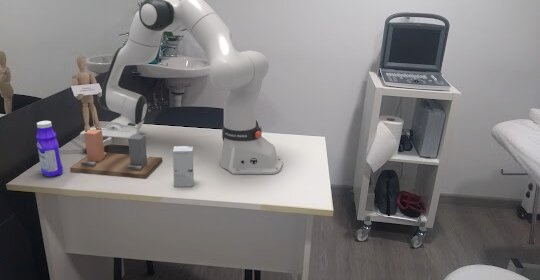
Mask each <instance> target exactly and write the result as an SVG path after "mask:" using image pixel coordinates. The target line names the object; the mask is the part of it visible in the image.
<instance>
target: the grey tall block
mask: <svg viewBox="0 0 540 280" xmlns="http://www.w3.org/2000/svg"><path fill="white" fill-rule="evenodd" d="M128 142H129V146H128V150H129V151H128V154H129V155H130V163H131V165H137V166H142V167H143V166H144V165H145V164H146V163H147V156H148V155H147V144H146V143H147V142H146V134H140V135H136V134H133V135H132V136H131V137H129V138H128Z"/></svg>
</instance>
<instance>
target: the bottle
mask: <svg viewBox="0 0 540 280" xmlns="http://www.w3.org/2000/svg"><path fill="white" fill-rule="evenodd" d="M36 129H37V134H36V136H35V138H36V139H37V142H36V147H37V151H38V152H37V153H38V157H39V163H40V170H41V172H42V174H43V175H45V176H47V177H49V178H50V177H55V176H59V175H61V174H62V173H63V171H64V169H63V168H64V167H63V164H62V158H61V151H60V145H59V141H58V140H57V138H56V137H57V133H56V132H55V131H54V129H53V124H52V121H50V120H42V121H38V122H36Z"/></svg>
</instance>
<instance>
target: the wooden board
mask: <svg viewBox="0 0 540 280" xmlns="http://www.w3.org/2000/svg"><path fill="white" fill-rule="evenodd" d="M104 153H105V157H104V158H103V159H102V160H101V161H99V162H96V161H88V158H87V155H86V156H85V157H82V158H81V159H80V160H79V161H77V162H76V163H74V164H73V165H72V166H70V168H69V170H70V172H71V173H79V174H80V173H81V174H92V175H102V176H113V177H125V178H135V179H148V178H149V177H150V175H151V174H152V173H153V172H155V170H156V169H157V167H159V166H160V164H162V162H163V157H160V156H159V157H158V156H150V155H147V163H146V164H145V165H144V166H143V167H142V166H137V165H131V163H130V154H125V153H115V152H113V153H111V152H105V151H104Z"/></svg>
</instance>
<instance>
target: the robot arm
mask: <svg viewBox="0 0 540 280" xmlns="http://www.w3.org/2000/svg"><path fill="white" fill-rule="evenodd" d="M183 31H188V33H189V34H190V36H191V37H192V39H194V41H195V42H196V43H197V44H198V46H199V47H200V48H201V50H202V51H203V52H204V54H205V56H206V59H207V61H208V63H209V69H208V77H209V80H210V83H211V84H212V85H213V87H215V89H218V90H220V91H229V93H228V94H227V97H226V99H225V100H224V103H223V125H222V128H221V138H222V141H223V142H222V150H221V154H220V155H221V156H220V159H219V161H218V162H219V163H218V164H219V166H220V167H221V168H223V169H225V170H228V171H229V173H231V175H232V174H233V175H276V174H278V173H280V171H282V169H283V165H284V164H283V158H282V157H280V156H279V155H277V150H276V147H275V145H274V144H272V143H271V142H270V141H269V140H267V139H266V138H264V137H263V136H262V134H263V133H262V126H261V125H260V127H259V125H257V108H258V107H257V105H258V99H259V96H260V93H261V88H262V85H263V81H264V79H265V77H266V76H267V74H268V72H269V67H270V66H269V65H270V64H269V60H268V59H267V57H266V55H264V53H262V52H260V51H255V50H244V51H240V52H239V51H238V50H237V49H236V48H235V46H234V44H233V41H232V38H233V37H232V36H233V34H232V31H231V29H230V28H229V27H228V26H227V24H225V22H224V21H223V20H222V18H221V16H219V15H218V14H217V13H216V11H215V10H214V9H213V8H212V7H211V5H209V4H208V3H207V1H205V0H144V1H143V2H141V4H140V6H139V9H138V10H137V12H135V15H134V17H133V20H132V22H131V25H130V29H129V33H128V37H127V41H126V43H125V45H124V46H121V47H119V48H118V49H117V50H116V51H115V53H114V55H113V57H112V60H111V62H110V65H109V67H108V71H107V73H106V76H105V79H104V82H103V84H102V86H101V87H100V89H102V96H101V97H99V96H98V95H97V97H96V99H97V101H98V104H99V106H100V107H101V108H102V109H104V110H106V111H107V110H108V111H110V112H114V113H117V114H119V116H118V117H117V118H114V119H113V120H111V121H110V122H108V123H107V124H106V125H105V127H100V128H101V129H102V137H103V145H104V147H106V146H109V145H114V146H125V147H129V142H128V138H129V137H131V136H132V135H133V134H136V135H141V131H140V129H141V128H142V126H143V124H144V122H145V119H146V117H147V114H148V110H149V104H148V101H147V98H146V97H145V96H144V95H142V94H140V93H137V92H134V91H131V90H128V89H125V88H123V87H121V86H119V82H120V80H121V75H122V73H123V70H124V69H125V67H126V66H141V65H147V64H149V63H151V62H153V61H155V59H156V58H157V56H158V53H159V49H160V46H161V40H162V36H163V34H164V32H169V33H170V32H172V33H174V32H183ZM89 128H90V129H94V130H96V128H95V126H93V127H89ZM85 130H86V129H84V130H82V131H81V132H80V133H79V135H80V141H81V142H82V143H85V136H84V133H85Z"/></svg>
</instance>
